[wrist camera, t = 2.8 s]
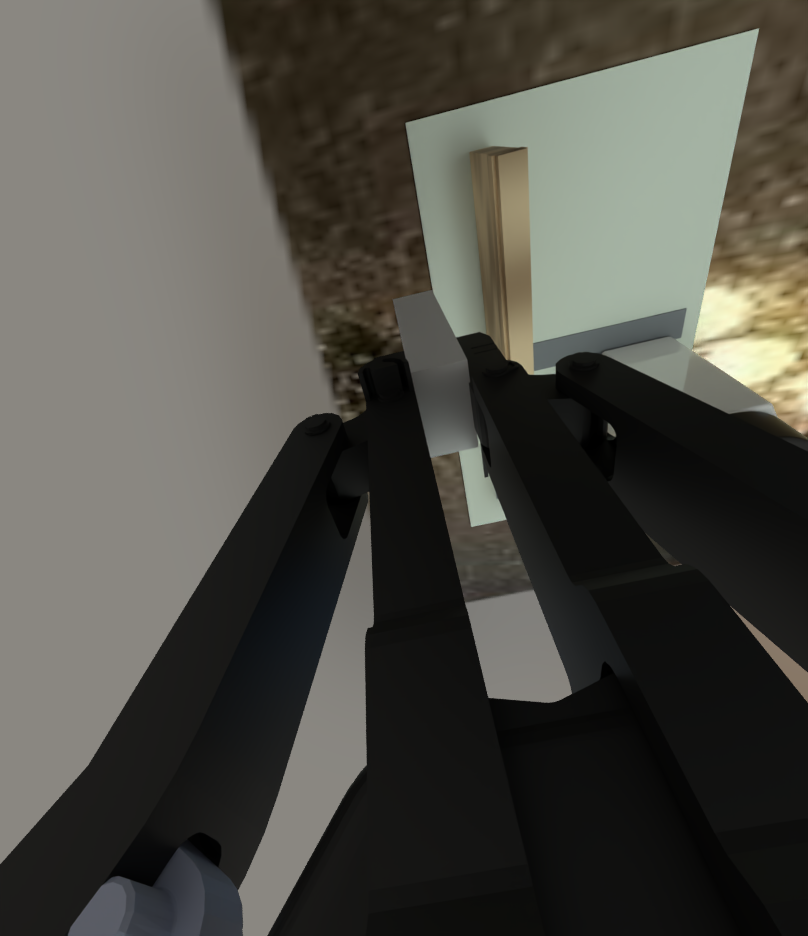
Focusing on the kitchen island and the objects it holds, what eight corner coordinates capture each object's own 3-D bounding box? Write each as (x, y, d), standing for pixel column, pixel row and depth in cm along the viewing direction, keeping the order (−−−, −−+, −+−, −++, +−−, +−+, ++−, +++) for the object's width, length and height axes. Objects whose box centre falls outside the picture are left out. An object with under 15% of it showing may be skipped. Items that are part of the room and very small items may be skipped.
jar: (549, 389, 31) (632, 502, 22) (658, 309, 28) (810, 400, 19) (604, 459, 36) (693, 578, 26) (703, 396, 33) (844, 506, 23)
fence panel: (508, 348, 29) (537, 389, 24) (486, 353, 29) (510, 395, 24) (495, 145, 22) (531, 147, 17) (466, 152, 22) (494, 156, 17)
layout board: (405, 123, 22) (405, 122, 21) (754, 29, 21) (760, 28, 20) (470, 524, 39) (471, 527, 39) (661, 485, 38) (664, 487, 38)
